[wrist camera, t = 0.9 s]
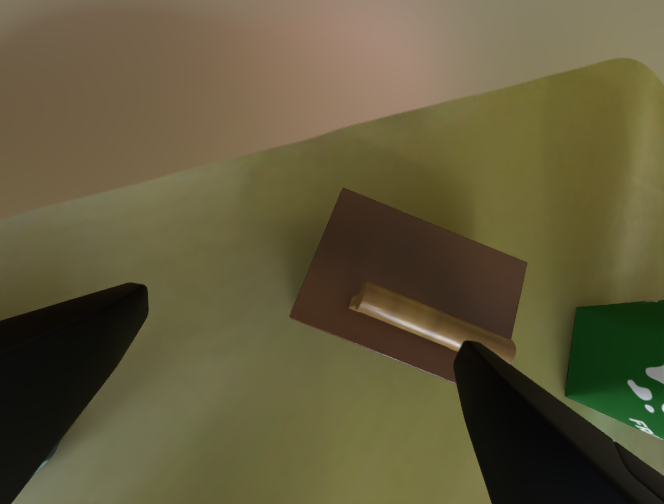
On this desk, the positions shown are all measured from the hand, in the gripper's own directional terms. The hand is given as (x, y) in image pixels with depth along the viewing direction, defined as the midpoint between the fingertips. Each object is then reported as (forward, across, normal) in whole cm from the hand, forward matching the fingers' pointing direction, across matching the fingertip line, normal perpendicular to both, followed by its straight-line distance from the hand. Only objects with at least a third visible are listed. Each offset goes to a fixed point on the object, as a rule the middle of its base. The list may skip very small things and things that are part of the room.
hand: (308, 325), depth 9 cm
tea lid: (+9, -6, +3) cm, 11 cm away
